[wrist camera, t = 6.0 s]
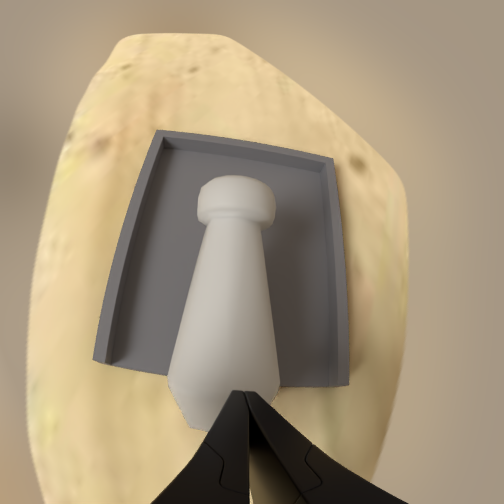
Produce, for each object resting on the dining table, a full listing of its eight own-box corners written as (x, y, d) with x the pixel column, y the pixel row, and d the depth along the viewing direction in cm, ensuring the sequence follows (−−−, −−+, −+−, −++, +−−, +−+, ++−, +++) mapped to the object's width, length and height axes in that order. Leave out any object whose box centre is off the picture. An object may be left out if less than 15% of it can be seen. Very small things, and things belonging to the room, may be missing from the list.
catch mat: (337, 386, 19) (349, 385, 17) (100, 363, 17) (92, 359, 15) (326, 171, 28) (333, 158, 26) (157, 144, 26) (156, 129, 24)
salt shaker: (259, 451, 11) (277, 155, 14) (144, 423, 13) (168, 167, 15) (284, 413, 16) (296, 201, 19) (196, 400, 18) (211, 205, 21)
